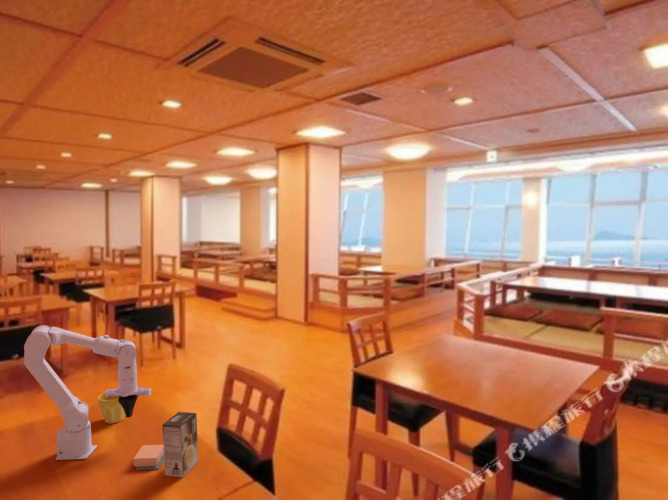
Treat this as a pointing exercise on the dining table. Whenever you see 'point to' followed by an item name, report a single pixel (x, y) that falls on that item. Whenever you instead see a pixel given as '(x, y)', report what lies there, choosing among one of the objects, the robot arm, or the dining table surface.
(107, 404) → the plant pot
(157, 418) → the dining table surface
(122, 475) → the dining table surface
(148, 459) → the pale pink block
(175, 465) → the coffee box
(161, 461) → the mat
